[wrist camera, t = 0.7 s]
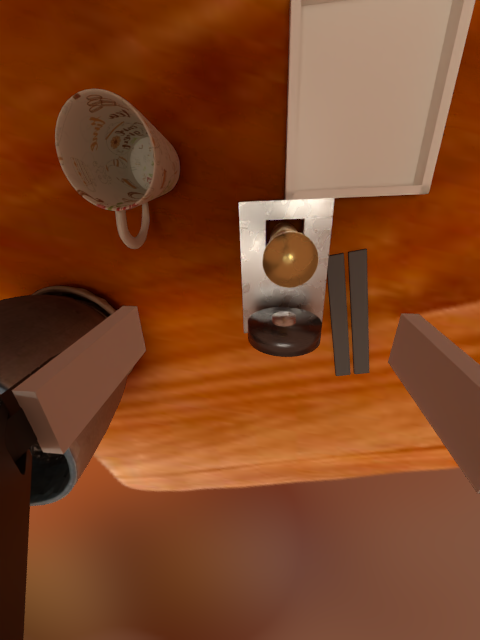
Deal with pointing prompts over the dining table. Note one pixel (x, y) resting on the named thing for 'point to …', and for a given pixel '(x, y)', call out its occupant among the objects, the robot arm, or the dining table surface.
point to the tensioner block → (275, 301)
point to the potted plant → (37, 347)
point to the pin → (289, 256)
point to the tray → (369, 94)
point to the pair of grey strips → (357, 311)
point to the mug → (114, 156)
